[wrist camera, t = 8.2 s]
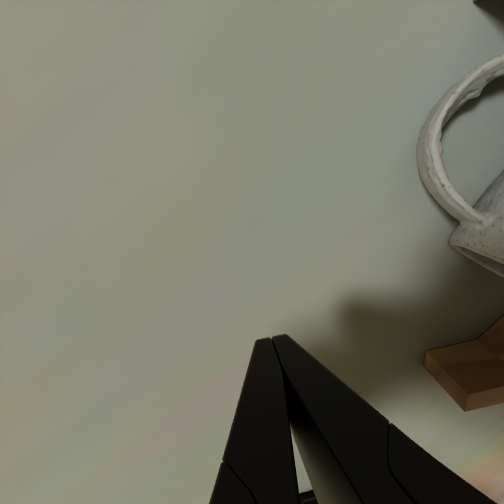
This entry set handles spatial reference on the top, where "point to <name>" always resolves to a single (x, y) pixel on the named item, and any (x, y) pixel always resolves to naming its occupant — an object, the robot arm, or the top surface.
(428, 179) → the ceramic mug
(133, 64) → the top surface
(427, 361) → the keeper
